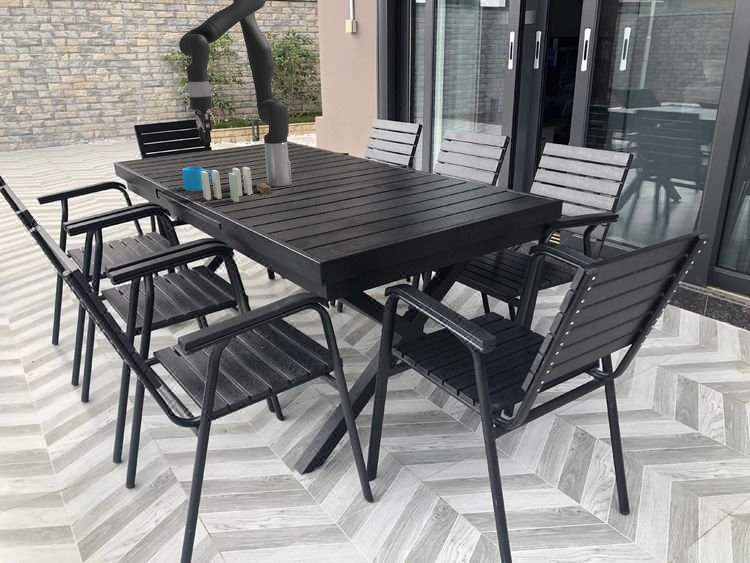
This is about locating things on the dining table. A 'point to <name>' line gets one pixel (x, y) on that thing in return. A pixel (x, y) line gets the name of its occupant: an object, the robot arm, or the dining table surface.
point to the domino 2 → (216, 184)
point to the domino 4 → (233, 187)
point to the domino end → (247, 180)
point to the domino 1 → (206, 185)
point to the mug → (193, 178)
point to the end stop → (264, 188)
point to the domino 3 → (238, 180)
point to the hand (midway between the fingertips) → (205, 141)
